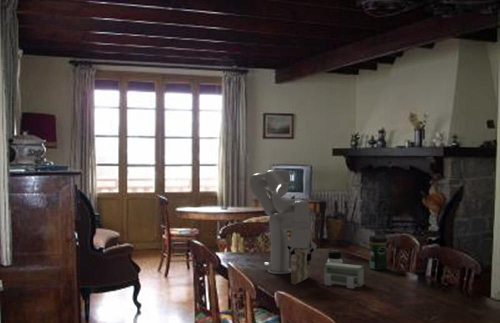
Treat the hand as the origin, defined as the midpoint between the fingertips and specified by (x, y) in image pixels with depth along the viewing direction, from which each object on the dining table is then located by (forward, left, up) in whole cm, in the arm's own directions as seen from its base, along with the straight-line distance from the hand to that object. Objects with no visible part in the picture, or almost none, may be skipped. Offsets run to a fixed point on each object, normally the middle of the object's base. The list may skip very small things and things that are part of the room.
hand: (300, 260), depth 264 cm
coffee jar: (+27, +46, -10) cm, 54 cm away
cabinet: (+21, +2, -10) cm, 23 cm away
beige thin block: (0, 0, -10) cm, 10 cm away
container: (+12, +17, -10) cm, 23 cm away
